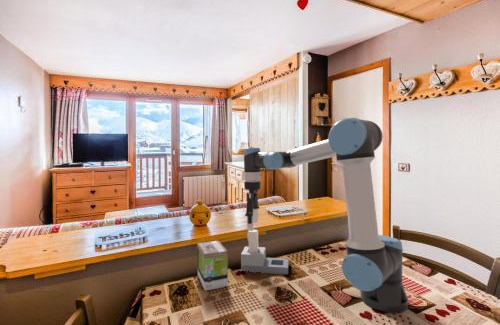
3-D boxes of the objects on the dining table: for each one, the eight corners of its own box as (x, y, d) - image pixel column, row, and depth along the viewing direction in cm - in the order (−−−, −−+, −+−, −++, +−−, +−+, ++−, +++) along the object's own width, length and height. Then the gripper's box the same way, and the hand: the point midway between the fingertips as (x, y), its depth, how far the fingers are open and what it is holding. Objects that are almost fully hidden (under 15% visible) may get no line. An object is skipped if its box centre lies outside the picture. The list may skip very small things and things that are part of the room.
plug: (257, 257, 122) (256, 232, 122) (247, 257, 123) (246, 231, 123) (258, 254, 126) (258, 229, 126) (248, 254, 127) (248, 229, 126)
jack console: (287, 274, 117) (287, 256, 117) (241, 271, 121) (241, 254, 120) (288, 264, 127) (288, 248, 127) (245, 262, 130) (245, 246, 130)
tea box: (228, 286, 107) (228, 250, 107) (204, 291, 104) (203, 254, 103) (219, 271, 121) (218, 239, 121) (197, 275, 118) (196, 242, 117)
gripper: (256, 184, 110) (256, 234, 111) (263, 178, 135) (263, 219, 136) (238, 184, 112) (239, 234, 112) (249, 178, 136) (249, 218, 137)
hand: (252, 226), depth 124 cm, fingers open, 13 cm apart
